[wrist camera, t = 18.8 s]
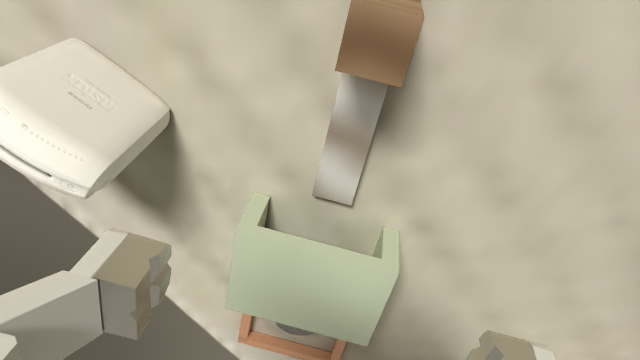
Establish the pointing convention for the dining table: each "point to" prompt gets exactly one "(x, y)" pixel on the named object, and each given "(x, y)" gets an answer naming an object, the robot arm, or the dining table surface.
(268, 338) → the frame
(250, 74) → the dining table surface
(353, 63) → the wooden handled metal tool
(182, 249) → the dining table surface
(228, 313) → the dining table surface
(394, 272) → the stand
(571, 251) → the dining table surface
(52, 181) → the photo printer
